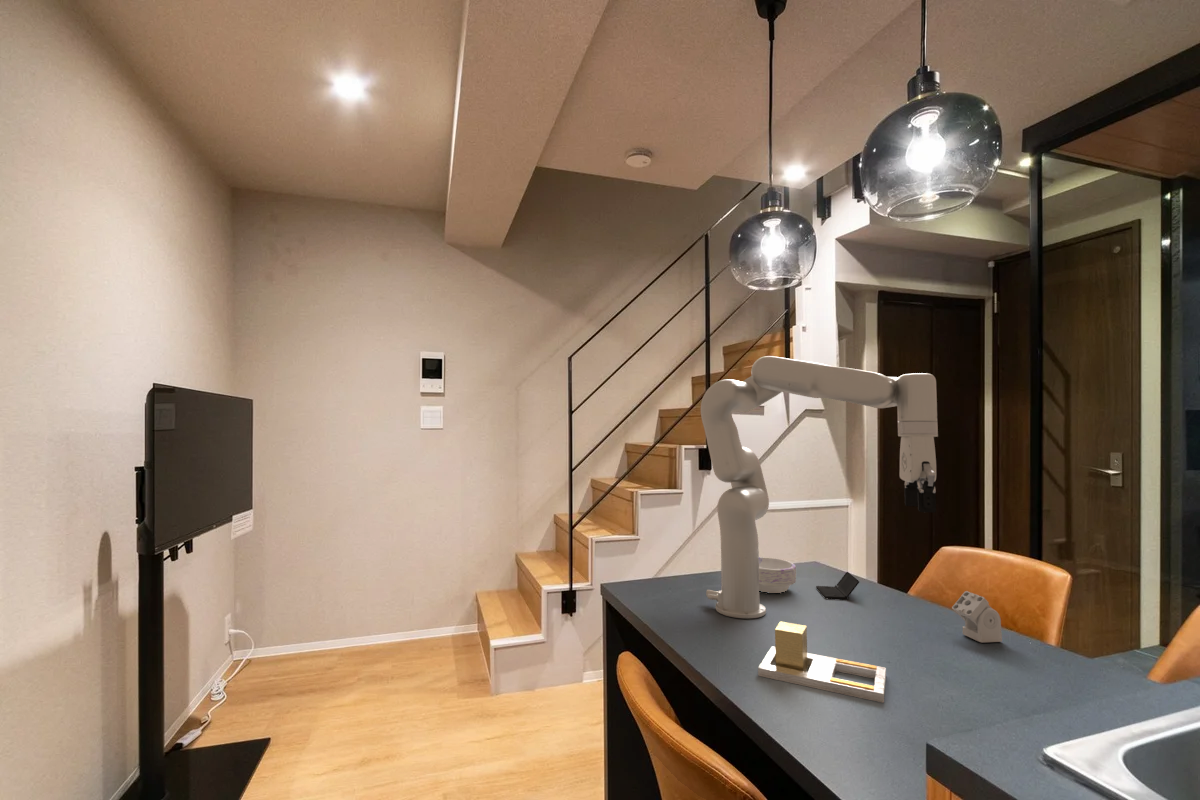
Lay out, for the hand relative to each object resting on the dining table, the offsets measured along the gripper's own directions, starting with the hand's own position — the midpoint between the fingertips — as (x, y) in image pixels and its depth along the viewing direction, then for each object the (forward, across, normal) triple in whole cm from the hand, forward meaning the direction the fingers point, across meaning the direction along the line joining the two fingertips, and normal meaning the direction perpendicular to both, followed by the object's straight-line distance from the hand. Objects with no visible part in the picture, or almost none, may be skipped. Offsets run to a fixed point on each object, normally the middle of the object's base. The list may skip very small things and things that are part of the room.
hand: (919, 509), depth 118 cm
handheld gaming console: (+30, -38, -12) cm, 50 cm away
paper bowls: (+30, -38, -30) cm, 57 cm away
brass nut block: (+30, +19, -28) cm, 45 cm away
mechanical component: (+30, -9, +13) cm, 34 cm away
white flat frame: (+30, +20, -23) cm, 42 cm away
